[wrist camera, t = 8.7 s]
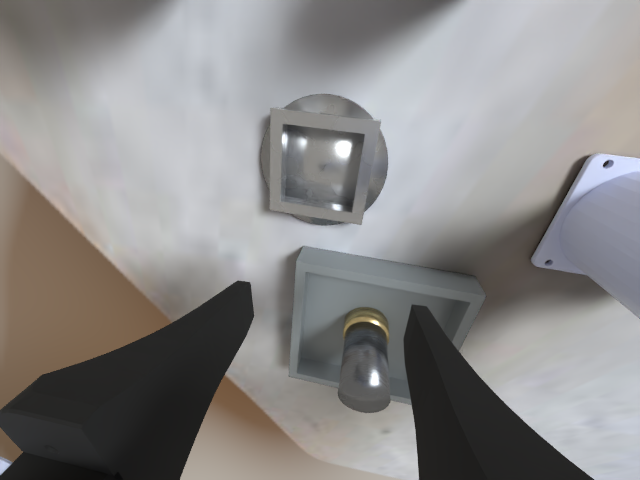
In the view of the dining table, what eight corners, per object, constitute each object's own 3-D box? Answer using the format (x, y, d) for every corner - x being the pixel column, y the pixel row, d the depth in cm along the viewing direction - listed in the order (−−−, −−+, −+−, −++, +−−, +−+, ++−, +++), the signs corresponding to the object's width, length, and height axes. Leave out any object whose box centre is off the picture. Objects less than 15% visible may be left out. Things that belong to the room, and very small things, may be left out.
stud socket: (401, 102, 17) (404, 102, 15) (373, 230, 21) (373, 241, 20) (263, 87, 18) (253, 85, 16) (264, 212, 22) (255, 221, 21)
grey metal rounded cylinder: (371, 300, 24) (371, 370, 18) (397, 329, 25) (404, 406, 19) (335, 317, 25) (323, 387, 19) (361, 344, 26) (357, 419, 20)
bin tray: (475, 276, 21) (486, 296, 19) (425, 385, 28) (429, 409, 26) (303, 245, 23) (296, 261, 21) (294, 356, 30) (288, 376, 27)
